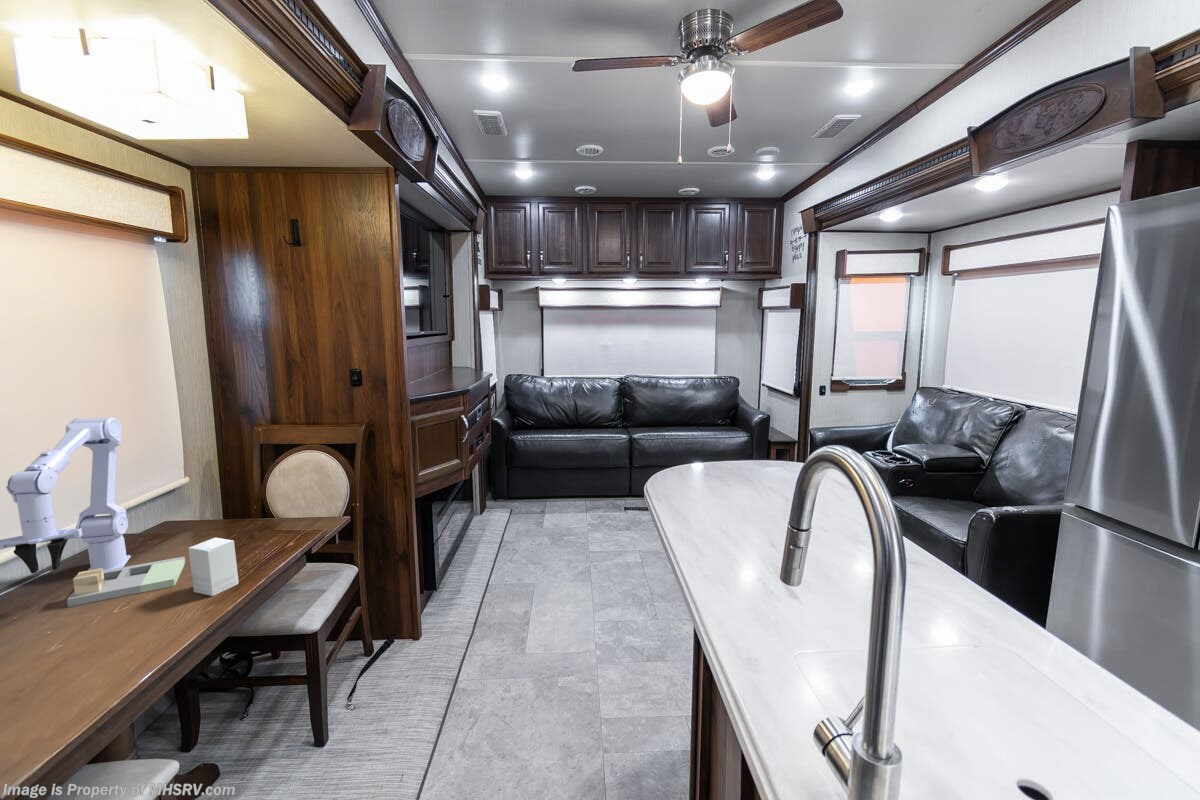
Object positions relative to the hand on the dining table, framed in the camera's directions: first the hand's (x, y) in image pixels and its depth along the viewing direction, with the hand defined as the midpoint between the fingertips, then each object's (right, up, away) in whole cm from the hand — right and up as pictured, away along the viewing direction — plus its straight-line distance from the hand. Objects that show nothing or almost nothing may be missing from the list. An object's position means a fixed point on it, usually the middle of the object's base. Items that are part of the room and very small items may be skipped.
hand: (45, 569), depth 129 cm
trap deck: (+10, -8, +12) cm, 18 cm away
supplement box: (+36, -8, +10) cm, 38 cm away
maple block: (+6, -7, +5) cm, 11 cm away
